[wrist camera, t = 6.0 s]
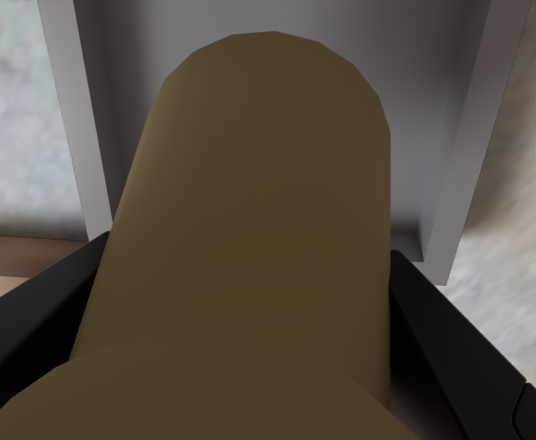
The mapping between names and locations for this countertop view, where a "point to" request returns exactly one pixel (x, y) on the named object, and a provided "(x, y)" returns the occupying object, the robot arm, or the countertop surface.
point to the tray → (333, 37)
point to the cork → (239, 264)
